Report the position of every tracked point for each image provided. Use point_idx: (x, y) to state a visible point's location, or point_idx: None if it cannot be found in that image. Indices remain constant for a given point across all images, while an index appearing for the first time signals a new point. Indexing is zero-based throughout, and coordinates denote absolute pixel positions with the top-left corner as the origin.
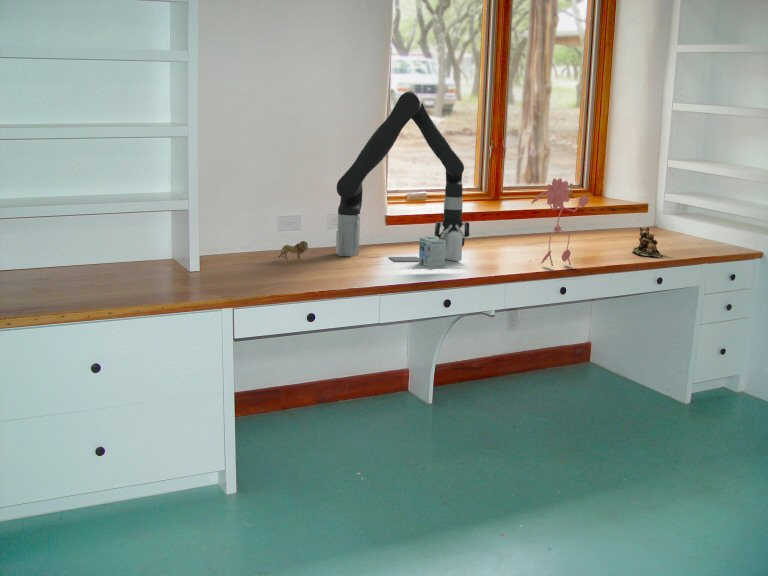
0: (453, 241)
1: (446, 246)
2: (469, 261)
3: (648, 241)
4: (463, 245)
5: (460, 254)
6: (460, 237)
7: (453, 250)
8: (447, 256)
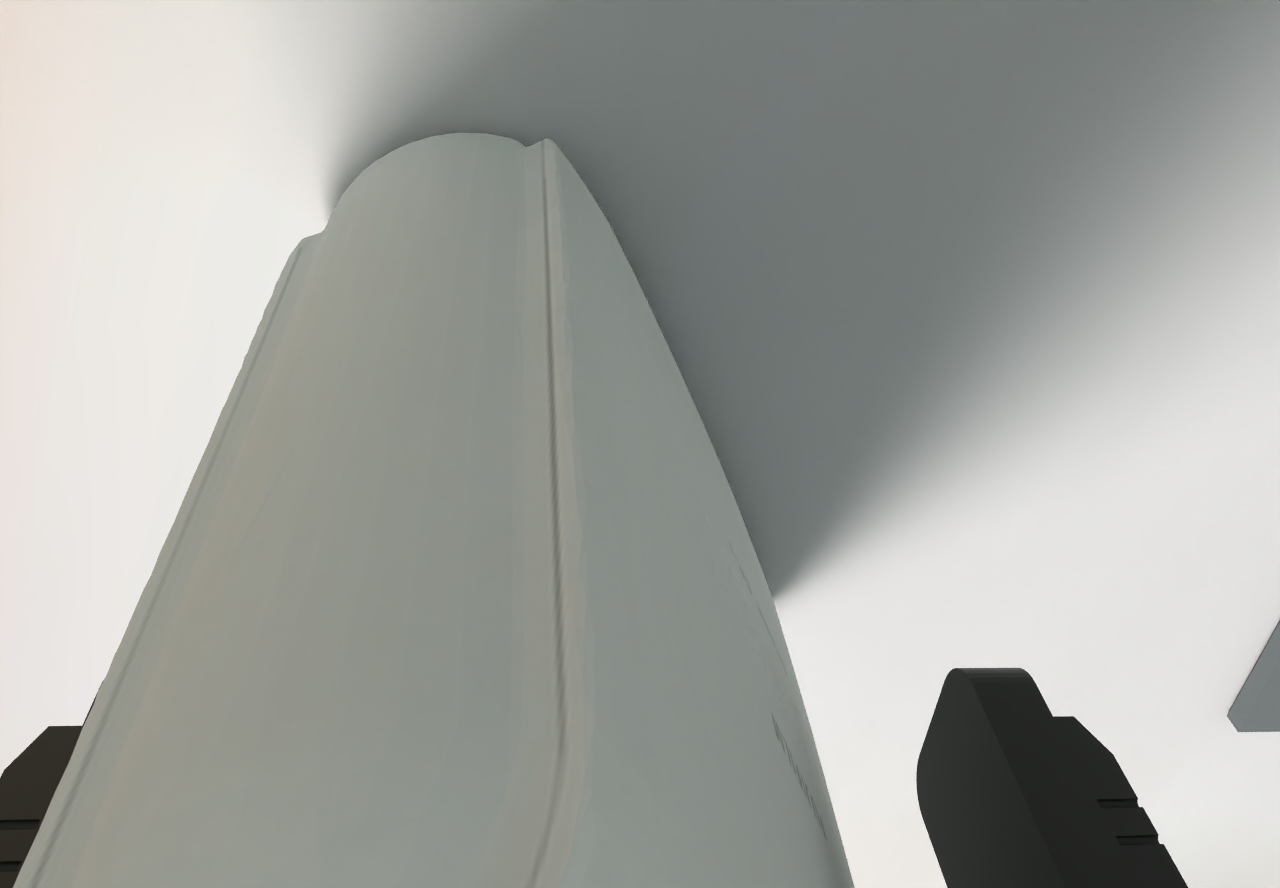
0: (695, 672)
1: (792, 723)
2: (24, 148)
3: None
4: (50, 740)
5: (330, 258)
6: (171, 873)
7: (634, 368)
8: (711, 450)
